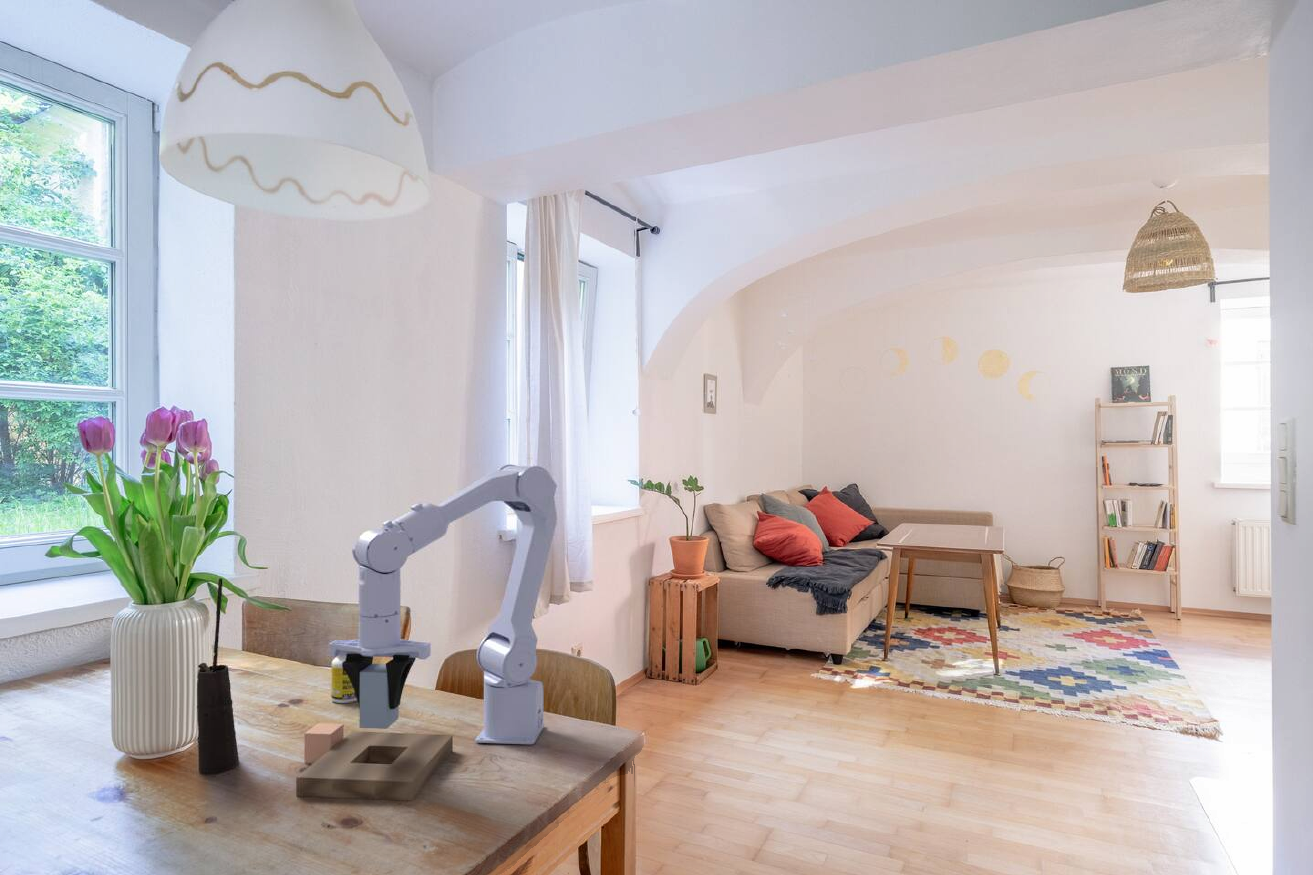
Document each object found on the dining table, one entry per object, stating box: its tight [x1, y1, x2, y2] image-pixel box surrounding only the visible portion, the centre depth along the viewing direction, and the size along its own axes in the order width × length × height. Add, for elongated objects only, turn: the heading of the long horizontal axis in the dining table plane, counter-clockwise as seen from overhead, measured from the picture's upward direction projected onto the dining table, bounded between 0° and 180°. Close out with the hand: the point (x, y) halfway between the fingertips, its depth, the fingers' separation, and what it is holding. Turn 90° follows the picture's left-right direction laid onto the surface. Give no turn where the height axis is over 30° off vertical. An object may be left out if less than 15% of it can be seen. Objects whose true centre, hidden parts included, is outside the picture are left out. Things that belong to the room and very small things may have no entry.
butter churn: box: [196, 577, 240, 775], centre depth 111 cm, size 9×10×28 cm
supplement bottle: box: [330, 656, 357, 704], centre depth 140 cm, size 5×5×10 cm
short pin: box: [303, 722, 345, 764], centre depth 114 cm, size 4×4×4 cm
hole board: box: [295, 730, 454, 801], centre depth 109 cm, size 16×16×2 cm
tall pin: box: [359, 663, 399, 730], centre depth 110 cm, size 4×4×8 cm
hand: (379, 706), depth 110 cm, fingers closed on tall pin, 4 cm apart
